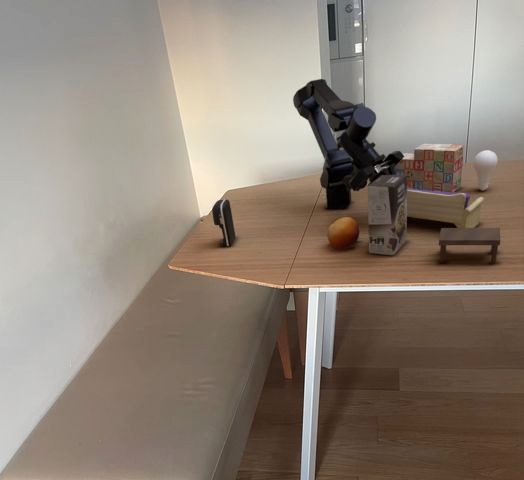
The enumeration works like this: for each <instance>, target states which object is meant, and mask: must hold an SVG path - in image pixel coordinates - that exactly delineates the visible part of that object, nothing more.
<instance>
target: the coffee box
mask: <svg viewBox="0 0 524 480" xmlns="http://www.w3.org/2000/svg"><path fill="white" fill-rule="evenodd" d="M367 185H368V184H367ZM367 216H368V218H367V219H368V220H367V221H368V253H369V254H375V255H376V254H378V255H385V256H394V255H395V254H396V253H397V252H398V251H399V250H400V249H401V248H402V247H403V245H405V243H406V242H407V232H408V231H407V227H408V226H407V225H408V223H407V221H408V219H407V218H408V216H407V175H381V176H380V177H379V178H377V179H376V180H375V181H374V182H372V183H371V184H370V185H368V186H367Z"/></svg>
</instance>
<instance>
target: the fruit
mask: <svg viewBox="0 0 524 480" xmlns="http://www.w3.org/2000/svg"><path fill="white" fill-rule="evenodd" d="M326 236H327V240H328V243H329V244H330V245H331V246H332V247H334V248H335V249H336V250H347V249H349V248H356V244H357V243H359V241H358V240H359V237H360V225H359V224H358V222H357V221H356V220H355V219H353V218H352V217H350V216H349V217H347V216H345V217H341V218H338V219H337V220H335V221H334V222H333V223H332V224H330V225H329V227H328V229H327V233H326Z"/></svg>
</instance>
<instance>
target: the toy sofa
mask: <svg viewBox="0 0 524 480" xmlns="http://www.w3.org/2000/svg"><path fill="white" fill-rule="evenodd" d="M470 198H471V195H470V194H469V193H466V192H454V193H449V192H439V191H425V190H418V189H412V188H407V218H408V217H410V218H417V219H423V220H428V221H429V220H430V221H435V222H436V221H437V222H445V223H449V224H454V225H455V227H456V228H477V226H478V225H479V224H480V221H481V210H482V209H481V208H482V204H483V203H484V201H485V198H484V197H483V196H480V197H478V198H477V199H475V200H474V201H473V202H472V203H471V204H469V201H470Z"/></svg>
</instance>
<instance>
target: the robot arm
mask: <svg viewBox="0 0 524 480" xmlns="http://www.w3.org/2000/svg"><path fill="white" fill-rule="evenodd" d="M292 102H293V106H294V108H295V109H296V111H297V113H298V115H299V116H300V117H302V118H304V119H305V120H306V121H307V122H308V123H309V126H310V128H311V131H312V133H313V136H314V138H315V140H316V143H317V145H318V148H319V149H320V152H321V154H322V157H323V158H324V161H323V164H322V165H323V166H322V172H321V175H320V177H319V182H320V186H321V187H322V188H323V189H325V197H326V206H325V210H345V209H346V210H347V209H348V207H349V206H350V205H351V203H352V191H353V192H360V190H362V189H365V188H366V187H368V185H370V184H371V183H372V182H374V181H375V180H376V179H377V178H379V177H380V176H381V175H396V174H395V167H396V165H397V164H398V163H399V162H400V161H401V160H402V159H403V158H404V155H403V154H402V153H403V152H402V151H401V150H395V151H392V152H390V153H389V154H387V156H386V155H385V154H384V153H383V154H381V155H380V153H379V152H378V151H377V150H376V148H375V147H376V143H375V142H374V141H373V142H371V143H370V142H369V141H368V139H367V138H368V136H369V135H370V133H371V131H372V129H373V127H374V125H375V124H376V121H377V115H376V112H375V111H374V110H373V109H371V108H369V107H367V106H365V104H364V102H361V103H356V104H354V103H352V102H351V101H347V100H342V99H341V97H339V96H338V95H337V93H336V92H335V91H334V90H333V89H332V88H331V87H330V86H329V85H328V83H327V79H325V78H324V79H323V78H318V79H314V80H309V82H307V83H306V84H305V85H303V86H302V87H300V88H299V89H298V90H297V91H296V92H295V93H294V95H293V98H292ZM324 112H325V113H326V115H327V118H326V116H325V114H324ZM332 131H333V132H334V133H338V132H341V134H340V135H339V136H338V137H336V139H335V136H334V134H333V132H332ZM368 181H369V183H368ZM321 187H320V188H321Z"/></svg>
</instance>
